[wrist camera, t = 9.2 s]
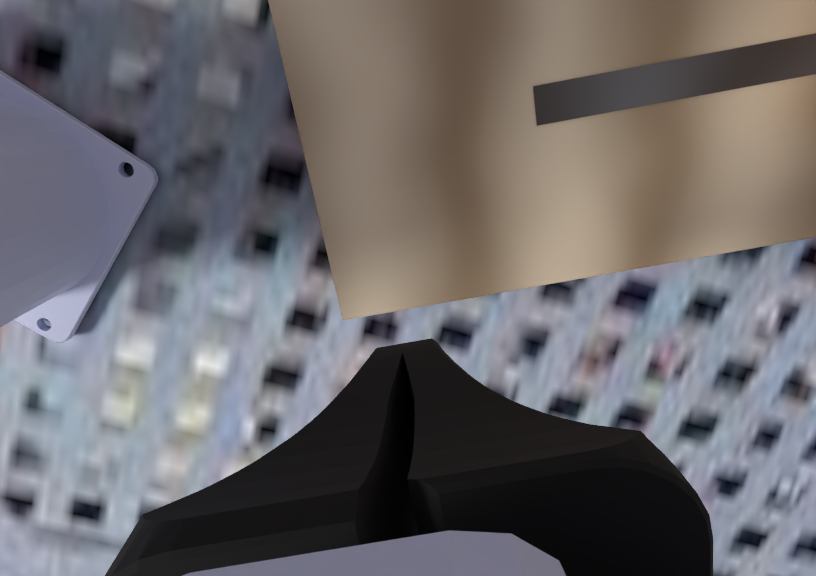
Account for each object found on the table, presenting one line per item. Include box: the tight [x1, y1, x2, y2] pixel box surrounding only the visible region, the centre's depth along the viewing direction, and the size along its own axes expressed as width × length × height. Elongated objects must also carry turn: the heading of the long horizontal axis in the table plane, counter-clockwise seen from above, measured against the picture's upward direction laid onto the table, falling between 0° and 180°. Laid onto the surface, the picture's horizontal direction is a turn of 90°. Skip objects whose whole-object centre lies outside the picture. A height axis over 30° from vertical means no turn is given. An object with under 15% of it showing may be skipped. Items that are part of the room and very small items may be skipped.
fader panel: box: [268, 0, 816, 320], centre depth 18 cm, size 22×12×2 cm, turn 100°
